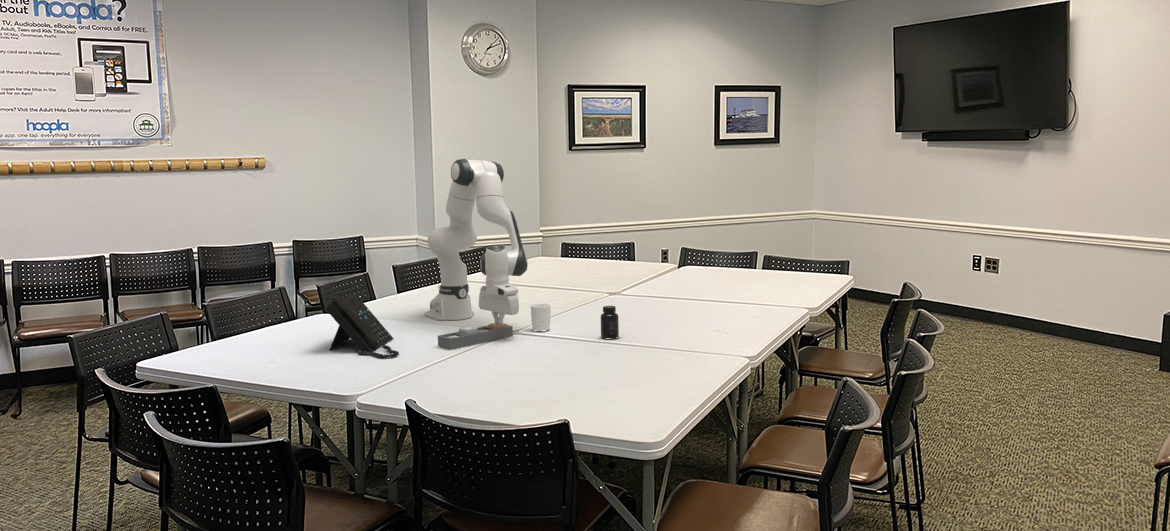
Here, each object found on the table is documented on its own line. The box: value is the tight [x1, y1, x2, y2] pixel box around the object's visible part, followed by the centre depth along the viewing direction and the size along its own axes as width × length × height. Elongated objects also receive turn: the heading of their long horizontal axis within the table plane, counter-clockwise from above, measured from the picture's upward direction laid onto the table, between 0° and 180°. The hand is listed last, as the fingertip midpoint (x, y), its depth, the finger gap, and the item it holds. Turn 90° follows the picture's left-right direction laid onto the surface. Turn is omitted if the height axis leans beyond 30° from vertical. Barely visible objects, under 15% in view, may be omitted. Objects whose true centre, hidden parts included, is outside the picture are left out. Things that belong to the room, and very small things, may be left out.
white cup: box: [530, 303, 552, 331], centre depth 332 cm, size 8×8×10 cm
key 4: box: [488, 322, 508, 329], centre depth 322 cm, size 5×5×3 cm
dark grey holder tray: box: [437, 324, 514, 351], centre depth 315 cm, size 8×29×4 cm, turn 135°
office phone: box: [325, 293, 400, 359], centre depth 305 cm, size 29×28×20 cm
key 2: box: [458, 325, 478, 335], centre depth 313 cm, size 5×5×3 cm
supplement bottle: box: [600, 305, 620, 339], centre depth 318 cm, size 7×7×12 cm
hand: (498, 323), depth 322 cm, fingers closed
